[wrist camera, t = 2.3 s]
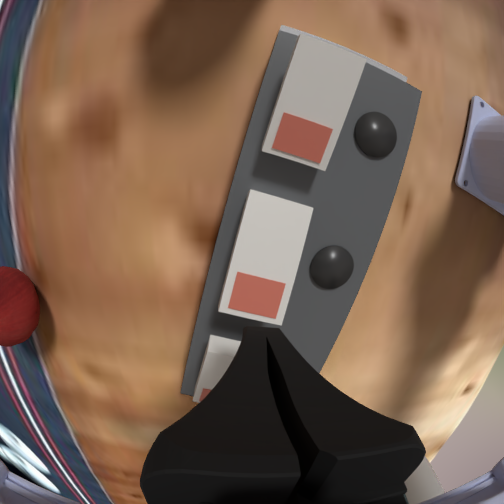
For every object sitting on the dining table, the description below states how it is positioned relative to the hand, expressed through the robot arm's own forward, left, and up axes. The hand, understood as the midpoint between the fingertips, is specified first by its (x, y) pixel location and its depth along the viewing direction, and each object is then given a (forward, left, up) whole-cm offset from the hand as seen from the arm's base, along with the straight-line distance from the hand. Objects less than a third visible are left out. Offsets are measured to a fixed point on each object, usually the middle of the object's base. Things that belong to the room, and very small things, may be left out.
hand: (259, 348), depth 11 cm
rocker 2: (0, -10, -5) cm, 11 cm away
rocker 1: (0, +6, -5) cm, 8 cm away
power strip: (-2, -2, -9) cm, 10 cm away
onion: (+17, +7, -10) cm, 21 cm away
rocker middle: (0, -2, -5) cm, 5 cm away
